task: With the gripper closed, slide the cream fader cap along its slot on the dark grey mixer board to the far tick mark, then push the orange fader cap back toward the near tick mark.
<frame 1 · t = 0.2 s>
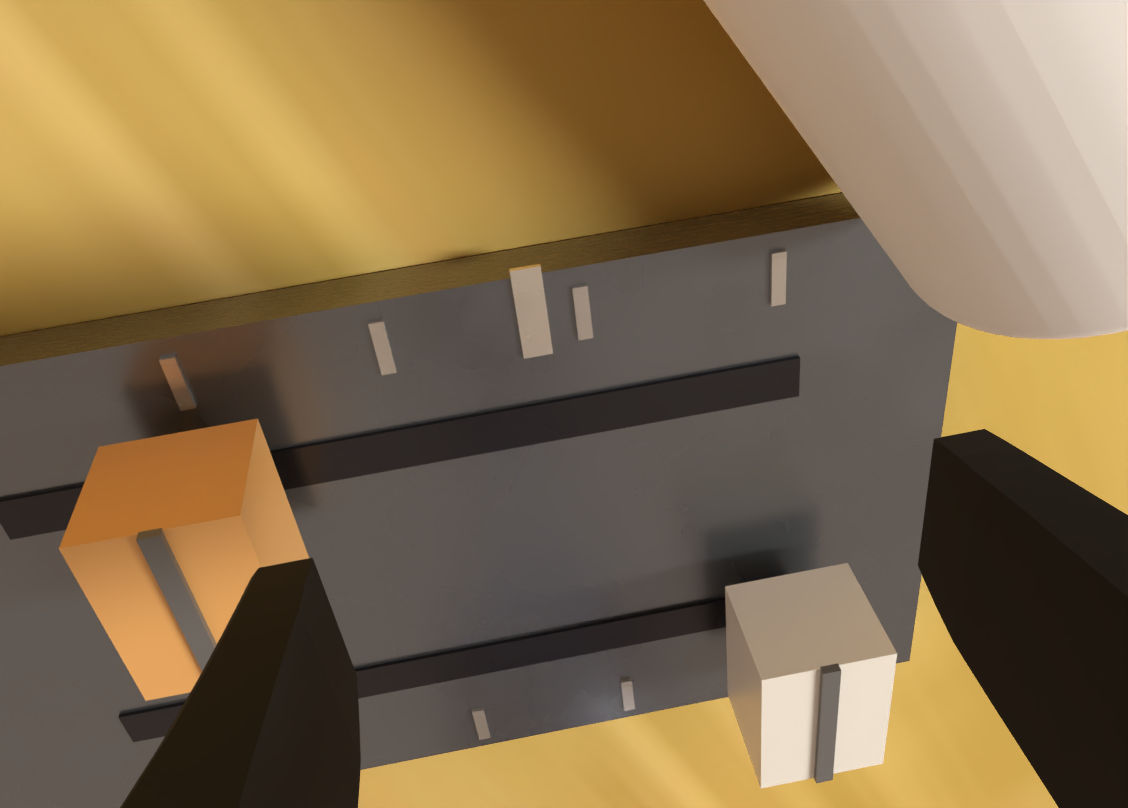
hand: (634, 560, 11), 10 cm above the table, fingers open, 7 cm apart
cream fader: (800, 666, 24), point 3 cm above the table, slide at 0.0 cm
mixer board: (355, 543, 24), on the table
orange fader: (204, 549, 19), point 3 cm above the table, slide at 12.0 cm
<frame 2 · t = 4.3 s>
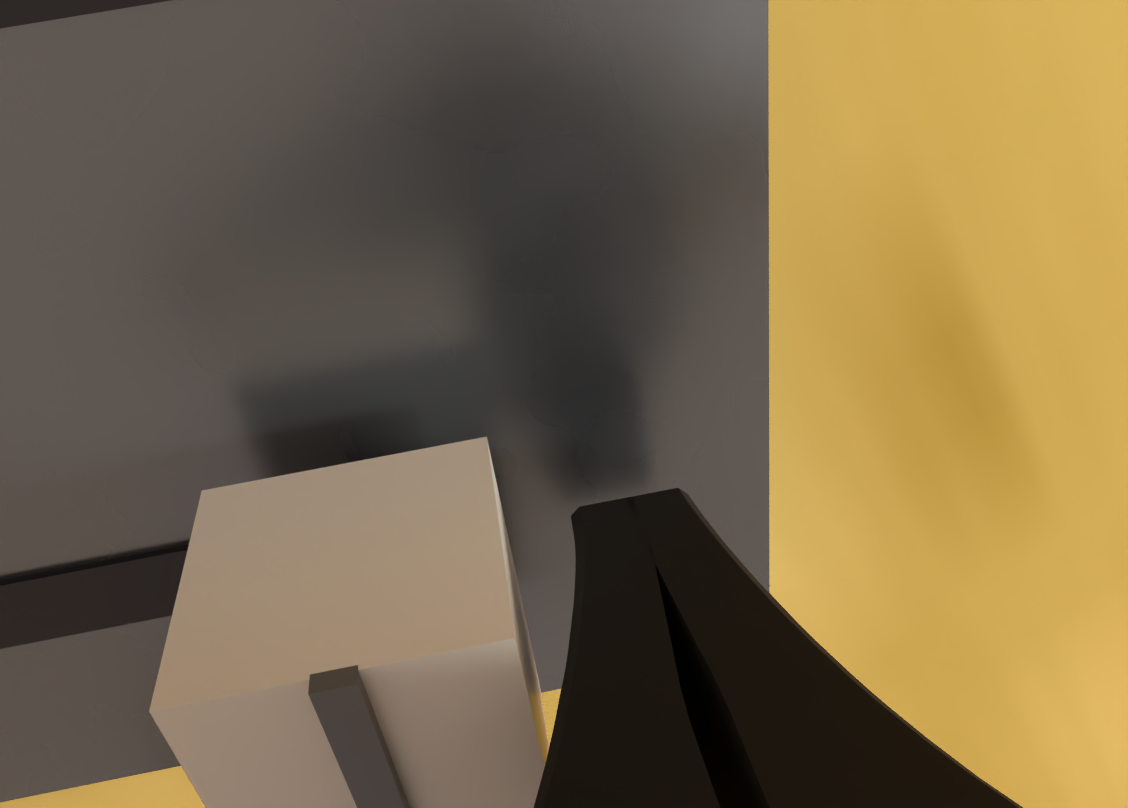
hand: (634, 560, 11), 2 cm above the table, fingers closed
cream fader: (388, 671, 11), point 3 cm above the table, slide at 0.9 cm, touching gripper
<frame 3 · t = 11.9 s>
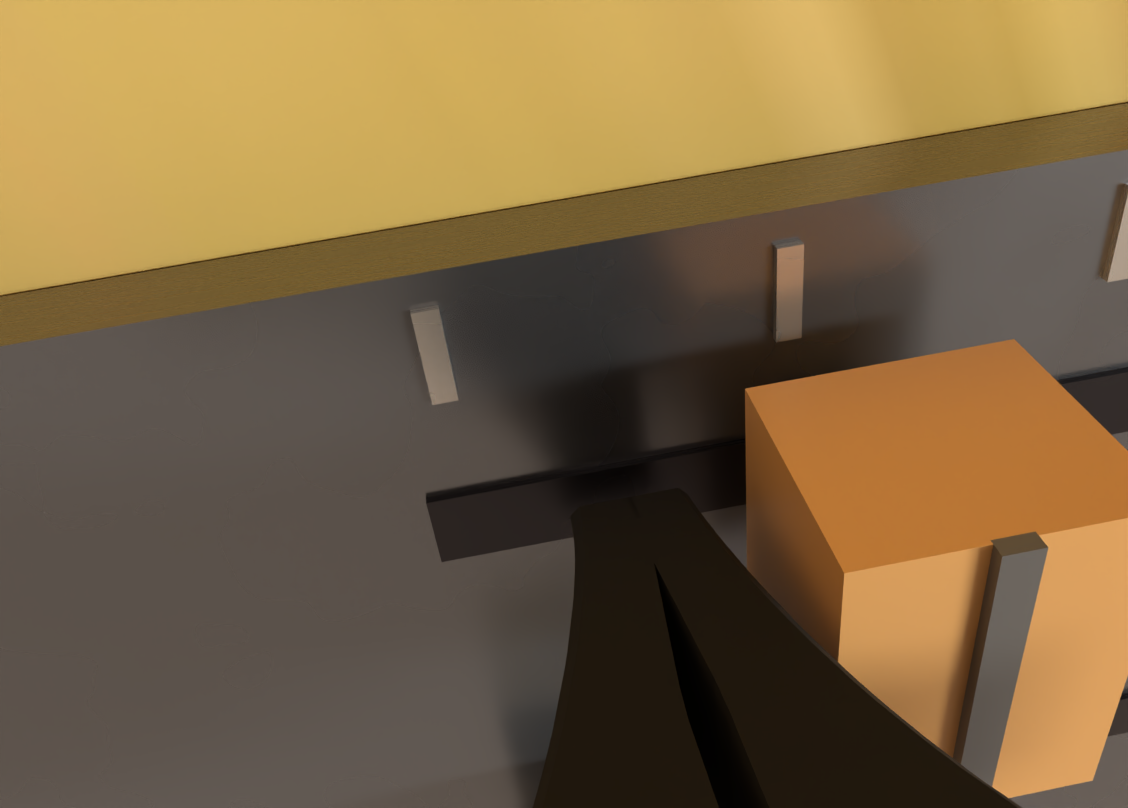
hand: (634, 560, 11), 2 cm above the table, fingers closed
mixer board: (878, 562, 16), on the table
orange fader: (909, 568, 11), point 3 cm above the table, slide at 11.3 cm, touching gripper
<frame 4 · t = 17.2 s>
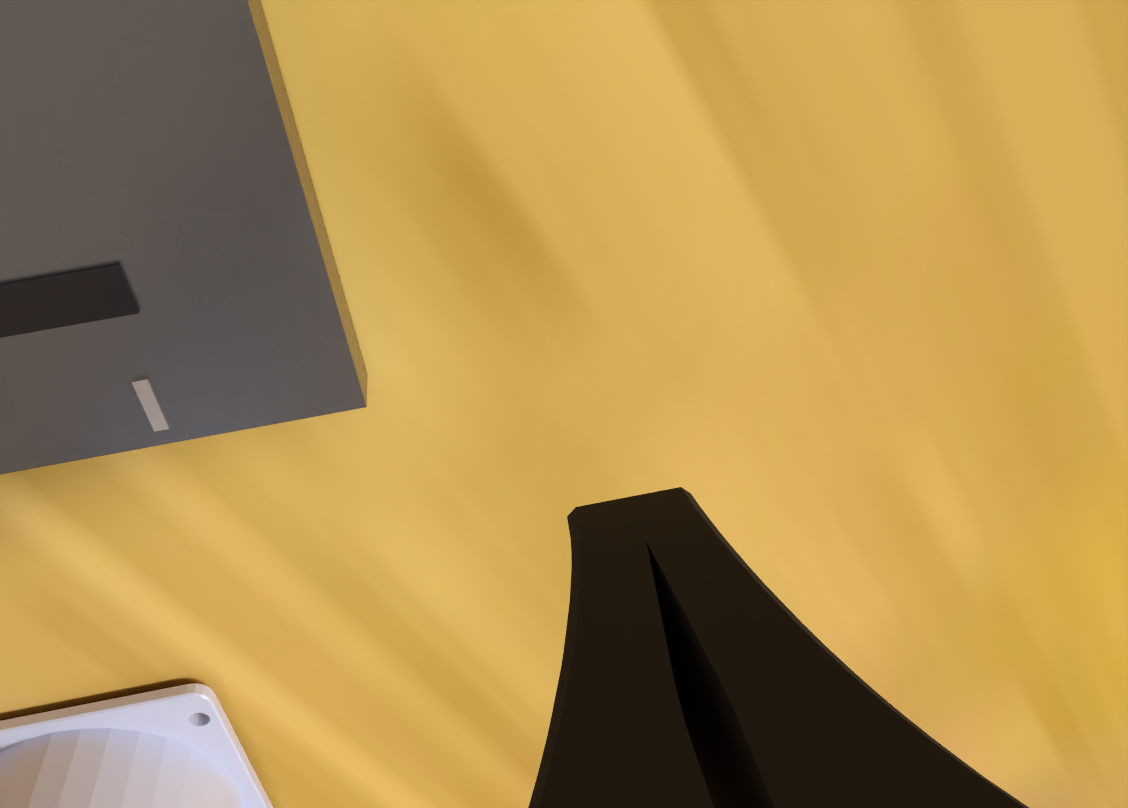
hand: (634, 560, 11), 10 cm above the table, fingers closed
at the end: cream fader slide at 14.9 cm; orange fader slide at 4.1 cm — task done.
